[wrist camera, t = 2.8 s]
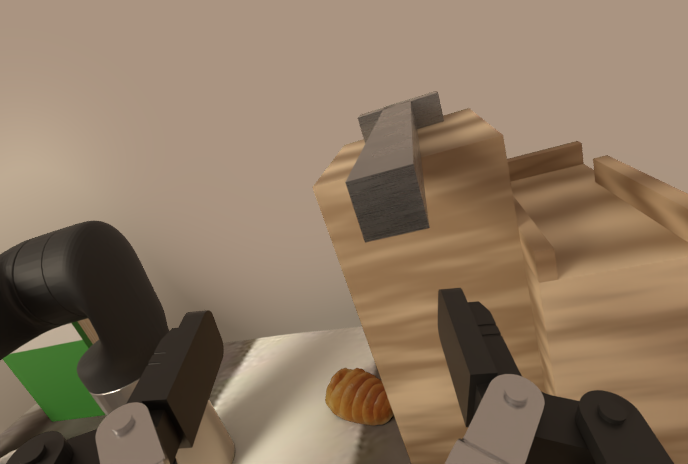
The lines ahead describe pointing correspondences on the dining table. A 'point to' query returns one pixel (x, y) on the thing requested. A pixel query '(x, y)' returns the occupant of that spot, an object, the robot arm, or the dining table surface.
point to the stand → (524, 278)
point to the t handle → (392, 169)
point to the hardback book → (57, 371)
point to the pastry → (358, 397)
